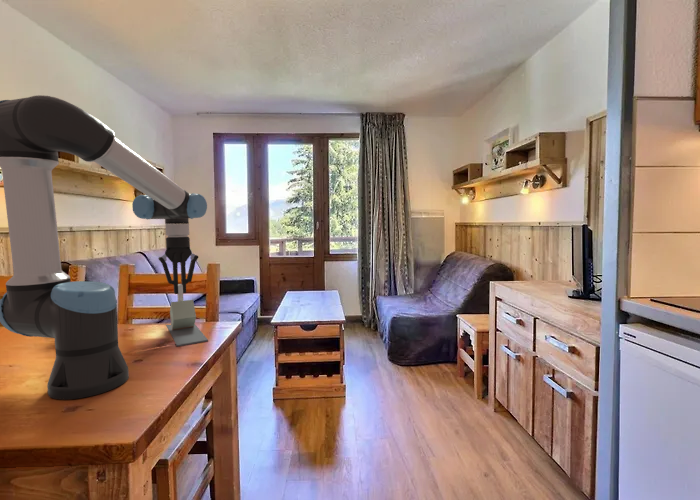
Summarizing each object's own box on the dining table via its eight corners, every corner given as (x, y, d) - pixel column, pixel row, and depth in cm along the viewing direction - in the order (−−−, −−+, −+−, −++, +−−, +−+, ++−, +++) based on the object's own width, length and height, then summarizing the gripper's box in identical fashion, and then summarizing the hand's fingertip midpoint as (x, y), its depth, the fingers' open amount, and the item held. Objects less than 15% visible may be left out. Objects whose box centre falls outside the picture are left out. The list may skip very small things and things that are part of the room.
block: (193, 326, 130) (196, 316, 125) (172, 330, 126) (173, 319, 121) (190, 310, 133) (193, 299, 129) (169, 312, 130) (171, 302, 125)
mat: (208, 341, 115) (208, 339, 115) (176, 346, 110) (176, 345, 110) (192, 322, 138) (192, 320, 138) (165, 325, 133) (165, 324, 133)
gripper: (195, 235, 134) (198, 298, 136) (155, 236, 127) (158, 303, 129) (199, 236, 128) (202, 302, 130) (158, 237, 121) (161, 307, 123)
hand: (180, 302), depth 129 cm, fingers closed
